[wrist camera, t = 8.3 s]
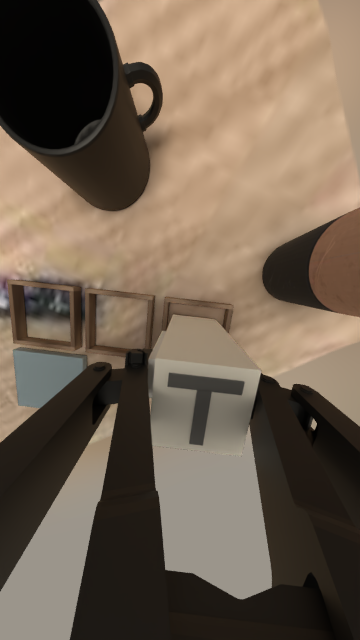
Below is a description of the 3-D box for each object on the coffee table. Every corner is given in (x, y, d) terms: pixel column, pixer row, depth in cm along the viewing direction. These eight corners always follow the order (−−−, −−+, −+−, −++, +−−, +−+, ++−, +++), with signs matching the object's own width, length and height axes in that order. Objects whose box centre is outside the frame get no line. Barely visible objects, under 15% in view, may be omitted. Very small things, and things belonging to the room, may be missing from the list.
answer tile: (24, 400, 26) (18, 405, 25) (19, 347, 24) (12, 349, 24) (87, 409, 26) (83, 413, 25) (86, 355, 24) (82, 358, 23)
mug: (183, 183, 19) (179, 97, 11) (92, 224, 21) (21, 178, 12) (152, 88, 18) (117, -108, 9) (55, 140, 19) (-59, 14, 10)
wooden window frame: (91, 348, 24) (85, 352, 23) (92, 288, 22) (85, 288, 21) (150, 355, 24) (147, 359, 22) (155, 295, 22) (152, 296, 21)
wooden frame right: (160, 356, 24) (159, 361, 22) (166, 296, 22) (164, 297, 21) (220, 363, 24) (222, 369, 22) (230, 304, 22) (233, 305, 20)
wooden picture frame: (24, 339, 24) (13, 343, 23) (18, 279, 22) (7, 279, 21) (81, 346, 24) (74, 350, 23) (80, 287, 22) (73, 287, 21)
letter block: (168, 354, 21) (147, 448, 9) (173, 314, 20) (155, 359, 8) (209, 359, 21) (241, 459, 9) (215, 319, 20) (262, 371, 8)
